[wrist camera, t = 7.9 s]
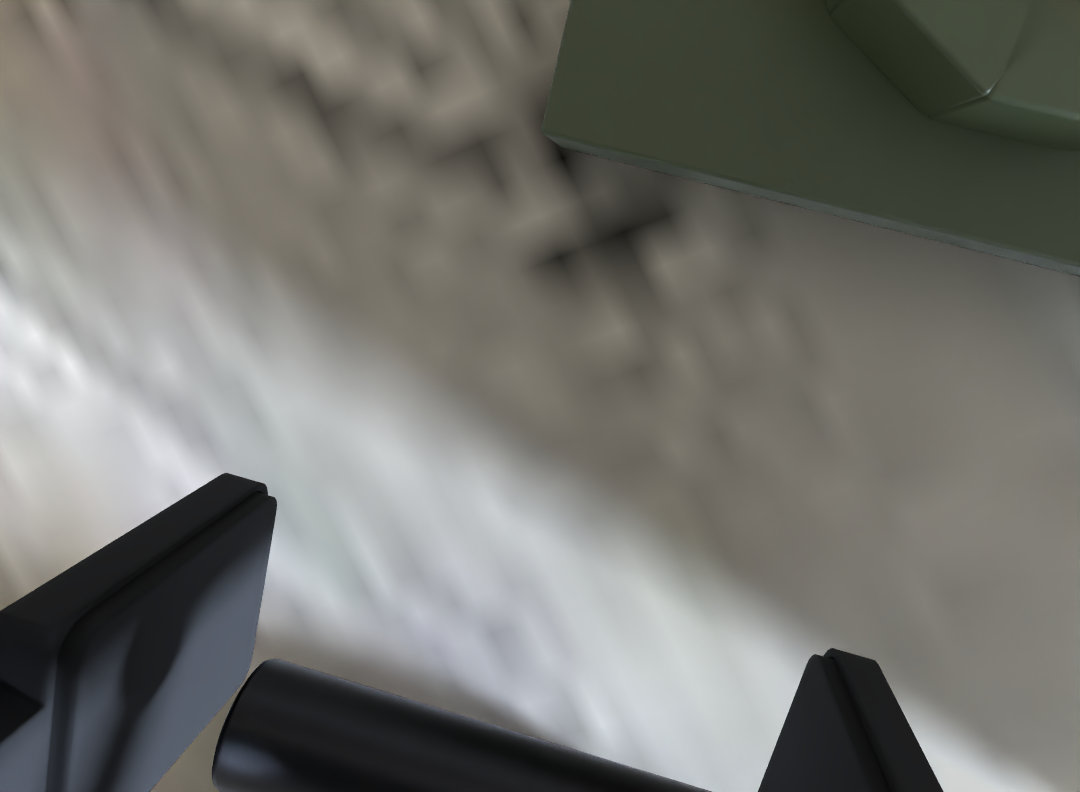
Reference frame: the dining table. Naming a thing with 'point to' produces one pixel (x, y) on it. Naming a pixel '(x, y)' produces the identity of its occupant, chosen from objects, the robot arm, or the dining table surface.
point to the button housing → (844, 109)
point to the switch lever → (390, 745)
